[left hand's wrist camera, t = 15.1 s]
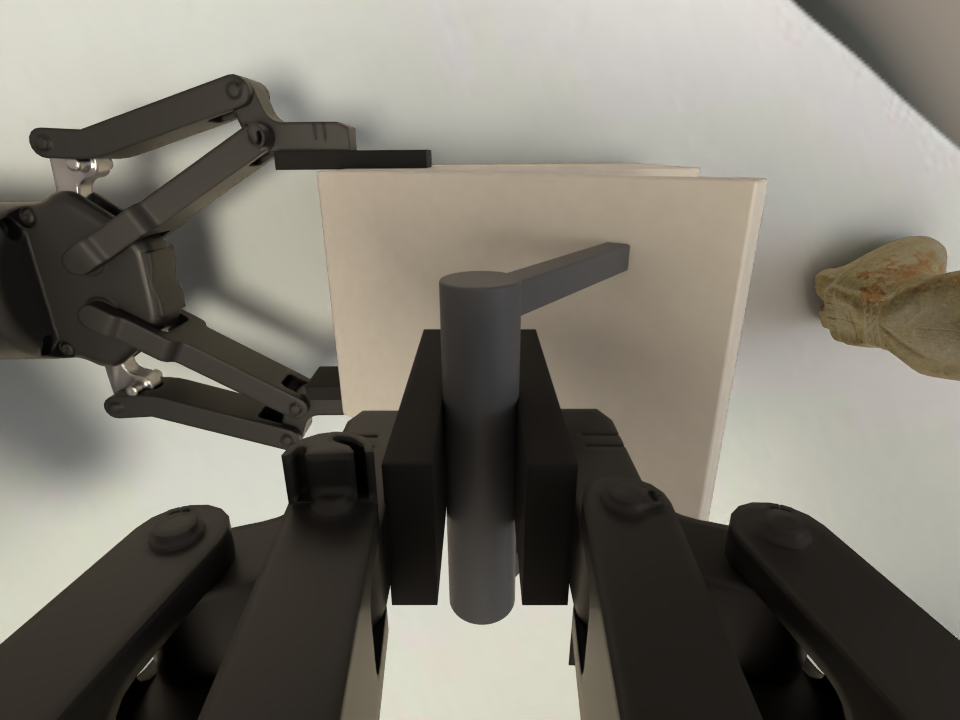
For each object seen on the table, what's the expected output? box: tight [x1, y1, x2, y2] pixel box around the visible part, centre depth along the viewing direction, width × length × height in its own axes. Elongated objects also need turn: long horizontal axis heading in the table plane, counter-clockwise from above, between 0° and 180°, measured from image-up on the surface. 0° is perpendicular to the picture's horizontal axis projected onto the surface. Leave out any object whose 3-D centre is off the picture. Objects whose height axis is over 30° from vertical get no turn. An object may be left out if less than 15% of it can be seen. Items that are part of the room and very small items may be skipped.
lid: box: [317, 170, 768, 625], centre depth 16 cm, size 15×10×8 cm
